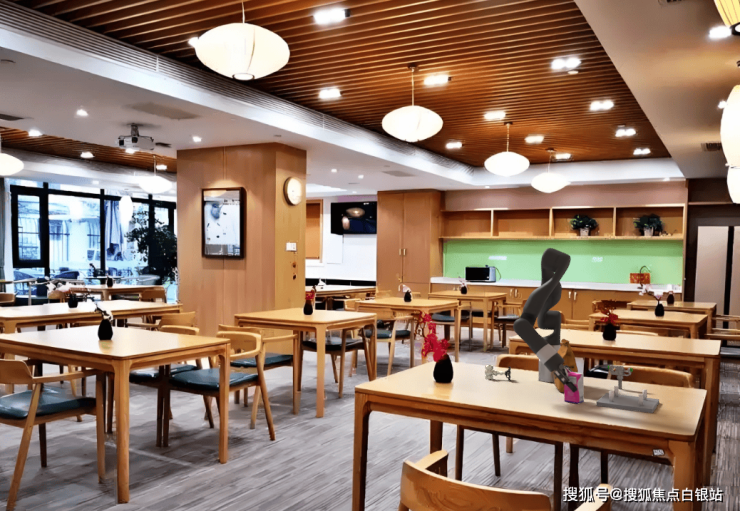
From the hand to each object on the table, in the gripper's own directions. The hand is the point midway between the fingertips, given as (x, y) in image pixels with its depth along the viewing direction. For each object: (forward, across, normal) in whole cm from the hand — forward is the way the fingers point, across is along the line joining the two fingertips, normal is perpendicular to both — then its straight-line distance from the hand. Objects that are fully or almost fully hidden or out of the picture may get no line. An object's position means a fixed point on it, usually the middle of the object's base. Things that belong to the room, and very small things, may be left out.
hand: (578, 389), depth 237 cm
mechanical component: (+10, +38, -3) cm, 39 cm away
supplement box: (+3, 0, +5) cm, 6 cm away
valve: (-27, +26, +34) cm, 51 cm away
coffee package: (-3, +20, +11) cm, 23 cm away
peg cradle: (+16, +8, -8) cm, 20 cm away
